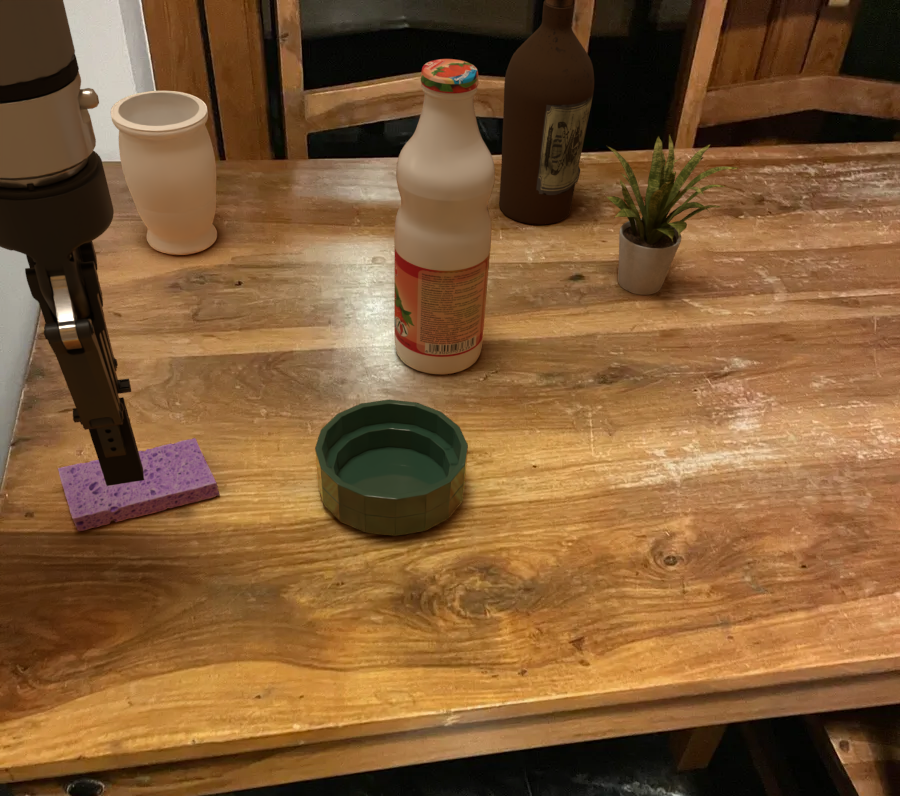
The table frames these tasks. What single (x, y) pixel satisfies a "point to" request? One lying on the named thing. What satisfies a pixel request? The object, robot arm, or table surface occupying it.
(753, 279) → the table surface
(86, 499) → the sponge
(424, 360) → the fruit juice
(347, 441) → the dish
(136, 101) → the jar
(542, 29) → the olive oil
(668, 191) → the house plant
